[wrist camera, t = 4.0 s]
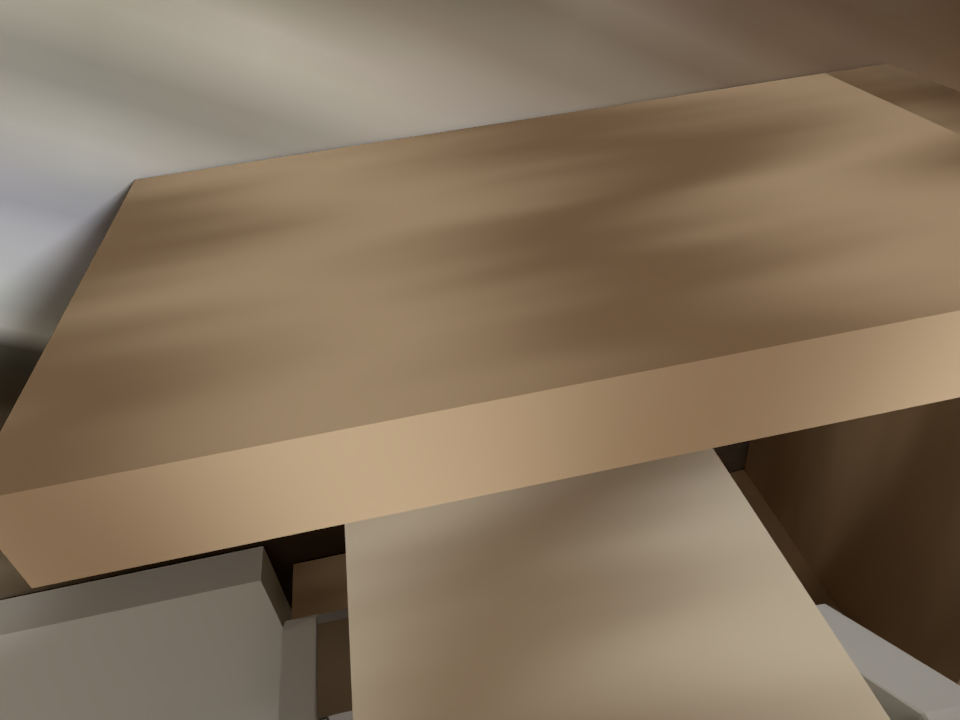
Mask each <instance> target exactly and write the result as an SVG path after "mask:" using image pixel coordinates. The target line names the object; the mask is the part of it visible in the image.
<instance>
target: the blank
mask: <svg viewBox="0 0 960 720" xmlns="http://www.w3.org/2000/svg"><path fill="white" fill-rule="evenodd" d="M345 545H346V569H347V593H348V616H349V640H350V663H351V687H352V710H353V720H891V719H890V718H889V716H888V715H887V713H886V712H885V710H884V709H883V707H882V706H881V704H880V703H879V701H878V700H877V698H876V697H875V695H874V693H873V692H872V690H871V689H870V687H869V686H868V684H867V683H866V681H865V680H864V678H863V677H862V675H861V674H860V672H859V671H858V669H857V668H856V666H855V664H854V663H853V661H852V660H851V658H850V657H849V655H848V654H847V652H846V651H845V649H844V648H843V646H842V645H841V643H840V642H839V640H838V639H837V637H836V635H835V634H834V632H833V631H832V629H831V628H830V626H829V625H828V623H827V622H826V620H825V619H824V617H823V616H822V614H821V613H820V611H819V610H818V608H817V606H816V605H815V603H814V602H813V600H812V599H811V597H810V596H809V594H808V593H807V591H806V590H805V588H804V587H803V585H802V584H801V582H800V581H799V579H798V577H797V576H796V574H795V573H794V571H793V570H792V568H791V567H790V565H789V564H788V562H787V561H786V559H785V558H784V556H783V555H782V553H781V551H780V550H779V548H778V547H777V545H776V544H775V542H774V541H773V539H772V538H771V536H770V535H769V533H768V532H767V530H766V529H765V527H764V526H763V524H762V522H761V521H760V519H759V518H758V516H757V515H756V513H755V512H754V510H753V509H752V507H751V506H750V504H749V503H748V501H747V500H746V498H745V497H744V495H743V493H742V492H741V490H740V489H739V487H738V486H737V484H736V483H735V481H734V480H733V478H732V477H731V475H730V474H729V472H728V471H727V469H726V468H725V466H724V464H723V463H722V461H721V460H720V458H719V457H718V455H717V454H716V452H715V451H714V449H713V448H711V449H706V450H701V451H696V452H692V453H687V454H682V455H677V456H672V457H667V458H662V459H658V460H653V461H648V462H643V463H638V464H633V465H628V466H624V467H619V468H614V469H609V470H604V471H599V472H594V473H590V474H585V475H580V476H575V477H570V478H565V479H560V480H556V481H551V482H546V483H541V484H536V485H531V486H526V487H522V488H517V489H512V490H507V491H502V492H497V493H493V494H488V495H483V496H478V497H473V498H468V499H463V500H459V501H454V502H449V503H444V504H439V505H434V506H429V507H425V508H420V509H415V510H410V511H405V512H400V513H395V514H391V515H386V516H381V517H376V518H371V519H366V520H361V521H357V522H352V523H347V524H345Z"/></svg>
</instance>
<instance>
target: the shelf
mask: <svg viewBox="0 0 960 720" xmlns="http://www.w3.org/2000/svg"><path fill="white" fill-rule="evenodd" d="M745 441H750V443H749V447H748V452H747V457H746V462H745V467H744V470H740V471H735V472H731V473H729V474H730V475H731V477H732V478H733V480H734V481H735V483H736V484H737V486H738V487H739V489H740V490H741V492H742V493H743V495H744V497H745V498H746V500H747V501H748V503H749V504H750V506H751V507H752V509H753V510H754V512H755V513H756V515H757V516H758V518H759V519H760V521H761V522H762V524H763V526H764V527H765V529H766V530H767V532H768V533H769V535H770V536H771V538H772V539H773V541H774V542H775V544H776V545H777V547H778V548H779V550H780V551H781V553H782V555H783V556H784V558H785V559H786V561H787V562H788V564H789V565H790V567H791V568H792V570H793V571H794V573H795V574H796V576H797V577H798V579H799V581H800V582H801V584H802V585H803V587H804V588H805V590H806V591H807V593H808V594H809V596H810V597H811V599H812V600H813V602H814V603H815V605H818V604H824V603H825V604H826V605H828V606H830V607H831V608H833V609H835V610H836V611H838V612H840V613H841V614H843V615H845V616H846V617H848V618H849V619H851V620H853V621H854V622H856V623H858V624H859V625H861V626H863V627H864V628H866V629H868V630H869V631H871V632H872V633H874V634H876V635H877V636H879V637H881V638H882V639H884V640H886V641H887V642H889V643H891V644H892V645H894V646H896V647H897V648H899V649H900V650H902V651H904V652H905V653H907V654H909V655H910V656H912V657H914V658H915V659H917V660H919V661H920V662H922V663H923V664H925V665H927V666H928V667H930V668H932V669H933V670H935V671H937V672H938V673H940V674H942V675H943V676H945V677H946V678H948V679H950V680H951V681H953V682H955V683H956V684H958V685H960V92H959V91H956V90H954V89H951V88H949V87H946V86H943V85H941V84H938V83H936V82H933V81H931V80H928V79H925V78H923V77H920V76H918V75H915V74H913V73H910V72H907V71H905V70H902V69H900V68H897V67H895V66H892V65H889V64H881V65H874V66H868V67H862V68H855V69H849V70H842V71H836V72H829V73H823V74H816V75H810V76H803V77H797V78H790V79H784V80H777V81H771V82H764V83H758V84H752V85H745V86H739V87H732V88H726V89H719V90H713V91H706V92H700V93H693V94H687V95H680V96H674V97H667V98H661V99H655V100H648V101H642V102H635V103H629V104H622V105H616V106H609V107H603V108H596V109H590V110H583V111H577V112H570V113H564V114H557V115H551V116H545V117H538V118H532V119H525V120H519V121H512V122H506V123H499V124H493V125H486V126H480V127H473V128H467V129H460V130H454V131H447V132H441V133H435V134H428V135H422V136H415V137H409V138H402V139H396V140H389V141H383V142H376V143H370V144H363V145H357V146H350V147H344V148H338V149H331V150H325V151H318V152H312V153H305V154H299V155H292V156H286V157H279V158H273V159H266V160H260V161H253V162H247V163H240V164H234V165H228V166H221V167H215V168H208V169H202V170H195V171H189V172H182V173H176V174H169V175H163V176H156V177H150V178H143V179H137V180H135V181H134V183H133V184H132V186H131V188H130V190H129V192H128V194H127V196H126V198H125V199H124V201H123V203H122V205H121V207H120V209H119V211H118V213H117V214H116V216H115V218H114V220H113V222H112V224H111V226H110V228H109V229H108V231H107V233H106V235H105V237H104V239H103V241H102V242H101V244H100V246H99V248H98V250H97V252H96V254H95V256H94V257H93V259H92V261H91V263H90V265H89V267H88V269H87V271H86V272H85V274H84V276H83V278H82V280H81V282H80V284H79V286H78V287H77V289H76V291H75V293H74V295H73V297H72V299H71V301H70V302H69V304H68V306H67V308H66V310H65V312H64V314H63V315H62V317H61V319H60V321H59V323H58V325H57V327H56V329H55V330H54V332H53V334H52V336H51V338H50V340H49V342H48V344H47V345H46V347H45V349H44V351H43V353H42V355H41V357H40V359H39V360H38V362H37V364H36V366H35V368H34V370H33V372H32V373H31V375H30V377H29V379H28V381H27V383H26V385H25V387H24V388H23V390H22V392H21V394H20V396H19V398H18V400H17V402H16V403H15V405H14V407H13V409H12V411H11V413H10V415H9V417H8V418H7V420H6V422H5V424H4V426H3V428H2V430H1V432H0V550H1V551H2V552H3V554H4V555H5V556H6V557H7V558H8V560H9V561H10V562H11V563H12V565H13V566H14V567H15V568H16V570H17V571H18V572H19V573H20V574H21V576H22V577H23V578H24V579H25V581H26V582H27V583H28V584H29V586H30V587H31V588H36V587H41V586H46V585H51V584H55V583H60V582H65V581H70V580H75V579H80V578H85V577H89V576H94V575H99V574H104V573H109V572H114V571H119V570H123V569H128V568H133V567H138V566H143V565H148V564H153V563H157V562H162V561H167V560H172V559H177V558H182V557H187V556H191V555H196V554H201V553H206V552H211V551H216V550H221V549H225V548H230V547H235V546H240V545H245V544H250V543H255V542H259V541H264V540H269V539H274V538H279V537H284V536H289V535H293V534H298V533H303V532H308V531H313V530H318V529H323V528H327V527H332V526H337V525H342V524H347V523H352V522H357V521H361V520H366V519H371V518H376V517H381V516H386V515H391V514H395V513H400V512H405V511H410V510H415V509H420V508H425V507H429V506H434V505H439V504H444V503H449V502H454V501H459V500H463V499H468V498H473V497H478V496H483V495H488V494H493V493H497V492H502V491H507V490H512V489H517V488H522V487H526V486H531V485H536V484H541V483H546V482H551V481H556V480H560V479H565V478H570V477H575V476H580V475H585V474H590V473H594V472H599V471H604V470H609V469H614V468H619V467H624V466H628V465H633V464H638V463H643V462H648V461H653V460H658V459H662V458H667V457H672V456H677V455H682V454H687V453H692V452H696V451H701V450H706V449H711V448H716V447H721V446H726V445H730V444H735V443H740V442H745ZM346 608H348V593H347V569H346V553H345V554H340V555H335V556H331V557H326V558H321V559H316V560H311V561H307V562H302V563H297V564H293V591H292V619H297V618H302V617H306V616H311V615H315V614H322V613H327V612H332V611H337V610H341V609H346Z"/></svg>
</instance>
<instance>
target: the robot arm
mask: <svg viewBox="0 0 960 720" xmlns="http://www.w3.org/2000/svg"><path fill="white" fill-rule="evenodd" d="M816 606H817V608H818V610H819V611H820V613H821V614H822V616H823V617H824V619H825V620H826V622H827V623H828V625H829V626H830V628H831V629H832V631H833V632H834V634H835V635H836V637H837V639H838V640H839V642H840V643H841V645H842V646H843V648H844V649H845V651H846V652H847V654H848V655H849V657H850V658H851V660H852V661H853V663H854V664H855V666H856V668H857V669H858V671H859V672H860V674H861V675H862V677H863V678H864V680H865V681H866V683H867V684H868V686H869V687H870V689H871V690H872V692H873V693H874V695H875V697H876V698H877V700H878V701H879V703H880V704H881V706H882V707H883V709H884V710H885V712H886V713H887V715H888V716H889V718H890V719H891V720H960V685H958V684H956V683H955V682H953V681H951V680H950V679H948V678H946V677H945V676H943V675H942V674H940V673H938V672H937V671H935V670H933V669H932V668H930V667H928V666H927V665H925V664H923V663H922V662H920V661H919V660H917V659H915V658H914V657H912V656H910V655H909V654H907V653H905V652H904V651H902V650H900V649H899V648H897V647H896V646H894V645H892V644H891V643H889V642H887V641H886V640H884V639H882V638H881V637H879V636H877V635H876V634H874V633H872V632H871V631H869V630H868V629H866V628H864V627H863V626H861V625H859V624H858V623H856V622H854V621H853V620H851V619H849V618H848V617H846V616H845V615H843V614H841V613H840V612H838V611H836V610H835V609H833V608H831V607H830V606H828V605H826V604H825V603H824V604H818V605H816ZM278 720H353V710H352V687H351V663H350V640H349V616H348V608H346V609H341V610H337V611H332V612H327V613H322V614H315V615H311V616H306V617H302V618H297V619H292V620H288V621H285V624H284V627H283V631H282V642H281V664H280V686H279V708H278Z"/></svg>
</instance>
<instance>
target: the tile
mask: <svg viewBox="0 0 960 720" xmlns="http://www.w3.org/2000/svg"><path fill="white" fill-rule="evenodd" d="M288 620H292V610H291V607H290V605H289V603H288V601H287V598H286V596H285V594H284V592H283V589H282V587H281V585H280V583H279V580H278V578H277V576H276V574H275V571H274V569H273V567H272V565H271V562H270V560H269V558H268V555H267V553H266V551H265V549H264V546H261V547H256V548H251V549H246V550H241V551H237V552H232V553H227V554H222V555H217V556H212V557H208V558H203V559H198V560H193V561H188V562H183V563H179V564H174V565H169V566H164V567H159V568H154V569H149V570H145V571H140V572H135V573H130V574H125V575H120V576H116V577H111V578H106V579H101V580H96V581H91V582H87V583H82V584H77V585H72V586H67V587H62V588H58V589H53V590H48V591H43V592H38V593H33V594H29V595H24V596H19V597H14V598H9V599H4V600H0V720H278V708H279V686H280V664H281V642H282V631H283V627H284V624H285V621H288Z"/></svg>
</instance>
